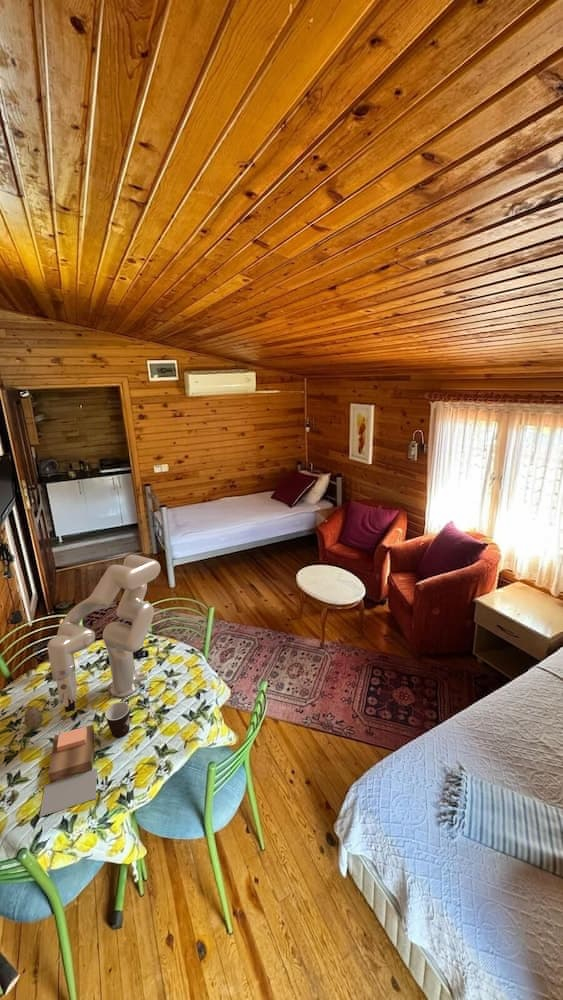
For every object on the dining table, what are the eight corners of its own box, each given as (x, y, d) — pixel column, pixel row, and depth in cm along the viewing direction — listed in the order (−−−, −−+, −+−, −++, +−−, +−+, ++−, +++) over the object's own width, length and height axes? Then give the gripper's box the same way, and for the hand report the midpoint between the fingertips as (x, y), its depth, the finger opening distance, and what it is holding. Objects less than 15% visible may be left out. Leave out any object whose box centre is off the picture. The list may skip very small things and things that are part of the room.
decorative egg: (46, 720, 161) (42, 700, 158) (41, 732, 155) (36, 712, 152) (30, 722, 160) (25, 702, 157) (24, 735, 154) (18, 714, 151)
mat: (97, 769, 141) (97, 768, 141) (95, 798, 131) (95, 798, 131) (45, 785, 136) (44, 784, 136) (39, 817, 126) (39, 817, 126)
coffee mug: (118, 744, 150) (114, 723, 147) (103, 734, 155) (100, 713, 151) (143, 722, 160) (140, 702, 156) (129, 713, 164) (126, 693, 161)
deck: (94, 732, 155) (93, 724, 154) (92, 769, 141) (90, 760, 140) (56, 743, 151) (54, 735, 150) (50, 782, 137) (48, 773, 135)
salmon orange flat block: (87, 730, 152) (86, 726, 151) (85, 743, 146) (85, 739, 146) (60, 738, 148) (59, 733, 148) (58, 751, 143) (57, 747, 143)
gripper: (73, 680, 142) (79, 722, 147) (76, 654, 155) (83, 693, 161) (48, 685, 139) (56, 728, 145) (54, 658, 153) (61, 698, 158)
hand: (70, 709), depth 153 cm, fingers closed
